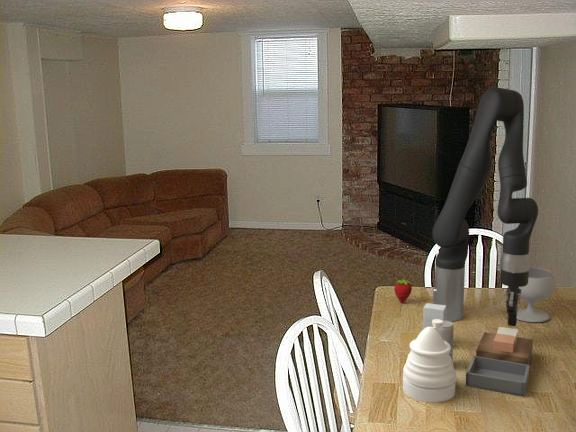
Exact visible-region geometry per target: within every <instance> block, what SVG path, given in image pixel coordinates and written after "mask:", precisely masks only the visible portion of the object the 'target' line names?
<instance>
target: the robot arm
mask: <svg viewBox="0 0 576 432" xmlns="http://www.w3.org/2000/svg"><path fill="white" fill-rule="evenodd" d="M523 99H524V97H522V95H521V93H520V92H518V91H516V90H513V89H510V88H509V89H508V88H502V87H498V86H497V87H496V86H492V87H489V88H488V89H486V91H484V92H483V95H482V96H481V97H480V101H479V103H478V106H477V109H476V113H475V117H474V121H473V125H472V129H471V133H470V135H469V138H468V140H467V144H466V146H465V149H464V151H463V154H462V157H461V159H460V161H459V164H458V167H457V170H456V172H455V175H454V178H453V181H452V184H451V186H450V189H449V192H448V195H447V198H446V200H445V203H444V204H443V207H442V209H441V211H440V213H439V215H438V217H437V219H436V221H435V223H434V225H433V227H432V232H431V233H432V239H433V240H434V244H436V245H437V246H438V247H440V248H439V251H438V253H437V255H436V256H435V266H434V267H435V268H434V269H435V270H434V273H435V274H434V288H433V289H432V304H438V305H446V306H447V310H446V320H447V321H450V322H456V321H461V320H462V319H463V318H464V308H465V307H464V306H465V305H464V303H465V276H466V275H465V273H466V272H465V271H466V261H467V258H468V254H469V243H470V229H469V228H470V227H469V224H468V222H467V220H466V219H465V218H466V216H467V213H468V211H469V209H470V208H471V206H473V204H474V202H475V201H476V199H477V198H478V196H479V195H480V194H481V192H482V191H483V188H484V187H485V185H486V183H487V181H488V178H489V176H490V173H491V171H492V168H493V155H492V148H491V136H492V133H493V129H494V127H495V124H496V122H502V123H503V126H504V131H505V137H504V142H503V145H502V148H501V150H500V152H499V157H498V161H497V164H498V165H497V168H498V174H499V175H498V176H499V183H500V189H499V199H498V205H497V211H496V213H497V217H498V219H499V220H500V222H501V223H503V224H507V225H511V224H512V225H513V224H518V226H517V227H516V228H514V229H511V230H507V231H506V232H504V233H503V237H502V253H501V259H500V276H499V277H500V280H499V282H500V283H501V284H502V286H503V285H504V286H506V287H507V288H506V290H505V298H506V299H505V303H506V304H505V305H506V314H507V325H508V326H509V327H516V326H517V320H518V319H517V312H518V308H520V305H521V304H520V303H521V297H520V296H521V292H522V289H519V287H524V286H526V285H527V284H528V278H529V267H530V240H531V237H532V234H533V230H534V226H535V225H536V222H537V220H538V215H539V207H538V204H537V202H536V200H535V199H533V198H532V197H516V198H515V197H514V198H513V194H514V193H515V192H519V191H522V190H524V189H526V188H527V186H528V181H527V172H526V165H525V157H524V128H525V127H524V119H525V117H524V114H525V112H524V111H525V110H524V109H525V103H524V100H523Z"/></svg>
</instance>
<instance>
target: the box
mask: <svg viewBox="0 0 576 432" xmlns="http://www.w3.org/2000/svg"><path fill="white" fill-rule="evenodd" d="M530 367H531V364H530V365H527V364H521V363H515V362H509V361H503V360H497V359H491V358H485V357H479V356H476V355H473V357H472V359H471V362H470V363H469V365H468V368H467V371H466V372H465V387H468V388H469V387H470V388H476V389H481V390H486V391H492V392H497V393H502V394H508V395H512V396H519V397H523V398H524V397H525V396H526V391H527V387H528V383H529V380H530V379H529V378H530Z"/></svg>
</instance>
